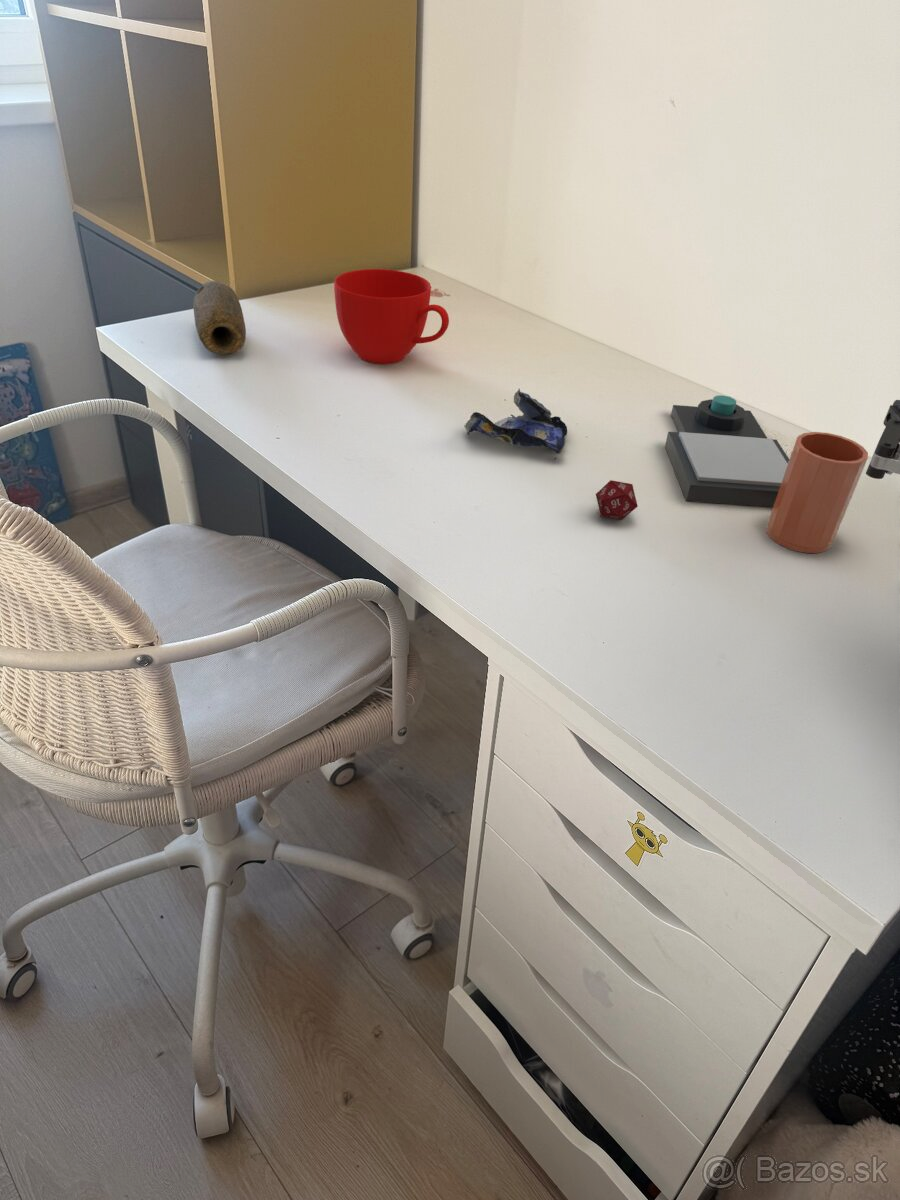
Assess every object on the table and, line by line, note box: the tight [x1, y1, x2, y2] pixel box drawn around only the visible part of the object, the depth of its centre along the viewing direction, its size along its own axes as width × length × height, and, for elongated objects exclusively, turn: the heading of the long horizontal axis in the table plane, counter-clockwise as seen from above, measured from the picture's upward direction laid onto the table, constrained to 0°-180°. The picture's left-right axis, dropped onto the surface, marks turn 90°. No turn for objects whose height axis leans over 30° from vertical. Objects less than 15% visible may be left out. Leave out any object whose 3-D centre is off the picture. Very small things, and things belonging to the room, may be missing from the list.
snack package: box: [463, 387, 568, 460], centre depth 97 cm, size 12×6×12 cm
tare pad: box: [670, 398, 768, 439], centre depth 103 cm, size 10×8×3 cm
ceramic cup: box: [333, 268, 450, 365], centre depth 113 cm, size 13×17×10 cm
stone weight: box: [192, 280, 247, 355], centre depth 115 cm, size 15×7×7 cm, turn 20°
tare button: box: [710, 394, 737, 415], centre depth 102 cm, size 3×3×2 cm
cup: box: [765, 431, 869, 554], centre depth 82 cm, size 6×6×10 cm
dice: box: [595, 479, 639, 521], centre depth 84 cm, size 4×4×4 cm
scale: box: [664, 431, 790, 508], centre depth 94 cm, size 13×13×2 cm
